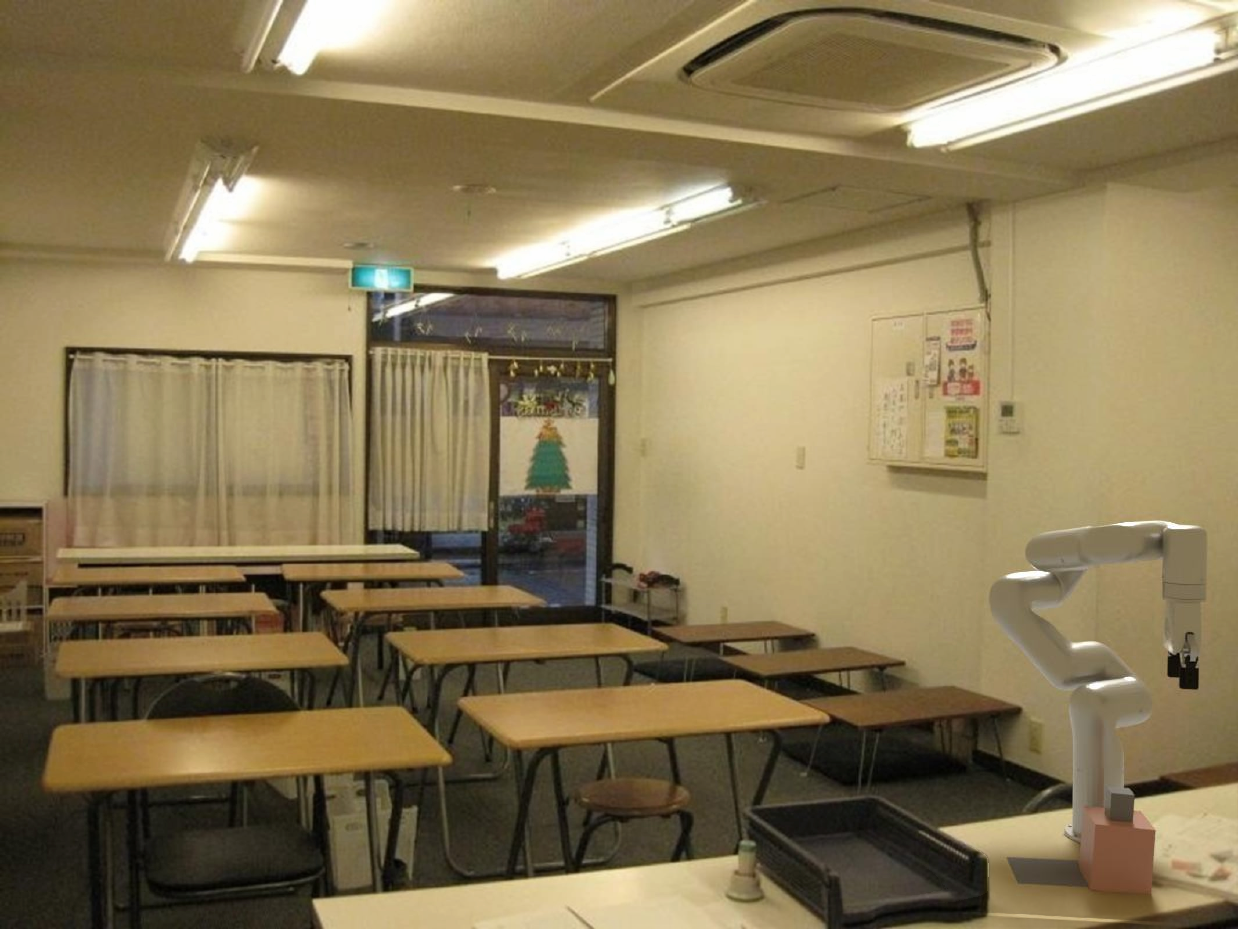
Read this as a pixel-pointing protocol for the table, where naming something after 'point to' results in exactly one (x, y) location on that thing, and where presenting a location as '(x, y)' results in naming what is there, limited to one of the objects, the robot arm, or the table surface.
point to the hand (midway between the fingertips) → (1182, 683)
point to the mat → (1047, 871)
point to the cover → (1117, 845)
